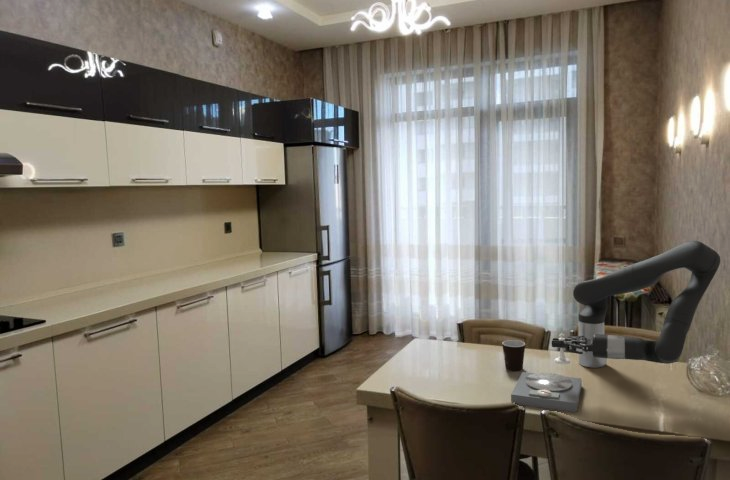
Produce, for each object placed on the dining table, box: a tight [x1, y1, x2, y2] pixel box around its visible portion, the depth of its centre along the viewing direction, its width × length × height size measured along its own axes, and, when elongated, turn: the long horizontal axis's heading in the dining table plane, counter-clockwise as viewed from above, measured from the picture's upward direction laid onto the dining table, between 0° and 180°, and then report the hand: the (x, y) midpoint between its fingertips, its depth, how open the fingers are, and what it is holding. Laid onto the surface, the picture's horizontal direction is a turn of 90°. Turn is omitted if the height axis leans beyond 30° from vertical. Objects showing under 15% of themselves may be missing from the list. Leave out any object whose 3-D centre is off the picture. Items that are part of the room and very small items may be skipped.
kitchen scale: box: [510, 371, 583, 413], centre depth 174 cm, size 22×20×4 cm
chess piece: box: [553, 332, 571, 365], centre depth 173 cm, size 5×5×10 cm
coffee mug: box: [501, 339, 526, 372], centre depth 202 cm, size 12×9×10 cm
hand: (552, 342), depth 174 cm, fingers closed on chess piece
